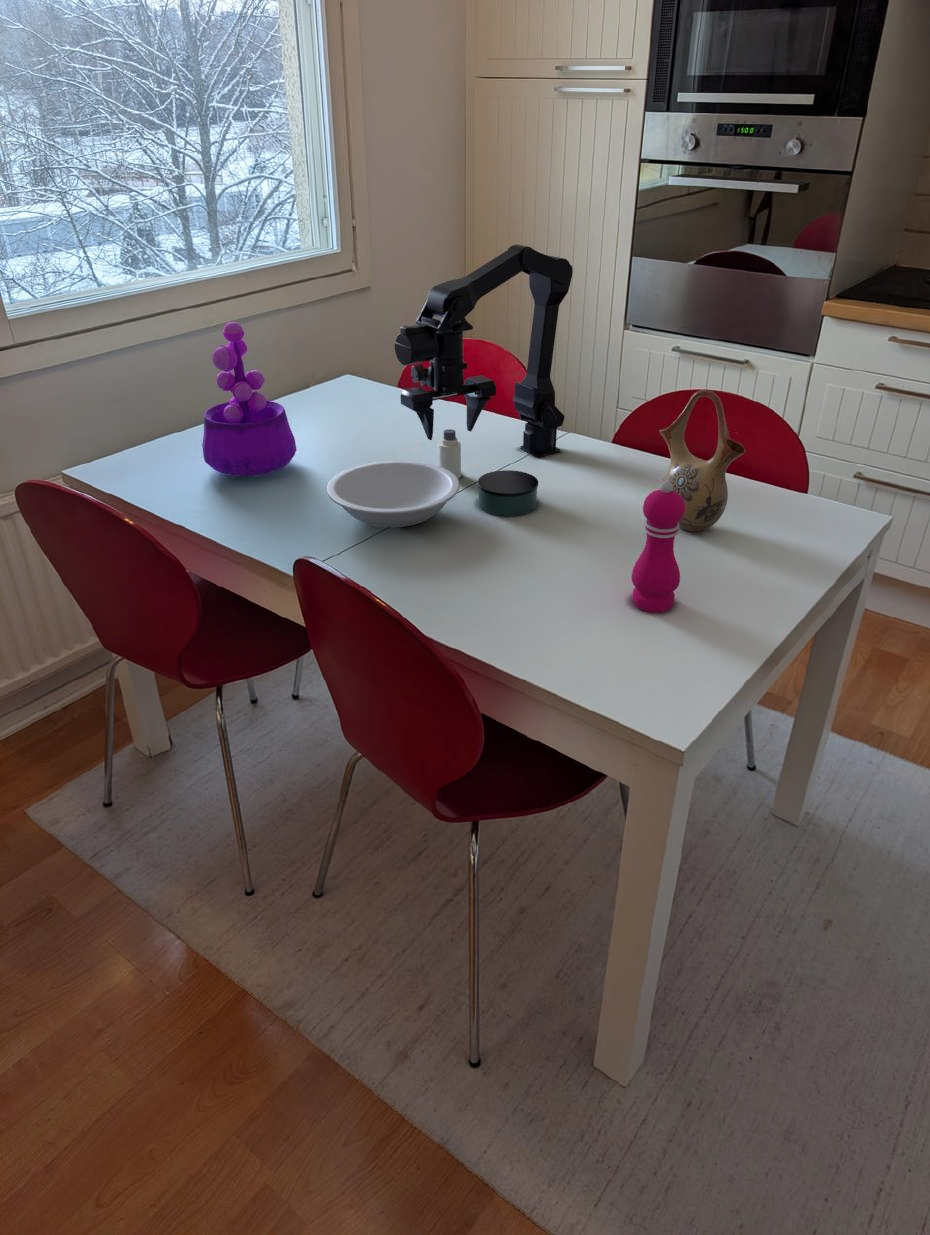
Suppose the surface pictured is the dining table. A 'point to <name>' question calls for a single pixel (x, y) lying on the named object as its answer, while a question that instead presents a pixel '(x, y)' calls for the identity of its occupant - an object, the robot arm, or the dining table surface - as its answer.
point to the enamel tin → (507, 493)
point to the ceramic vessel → (700, 469)
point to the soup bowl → (393, 492)
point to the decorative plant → (244, 418)
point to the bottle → (450, 453)
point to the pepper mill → (658, 551)
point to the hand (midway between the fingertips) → (449, 435)
